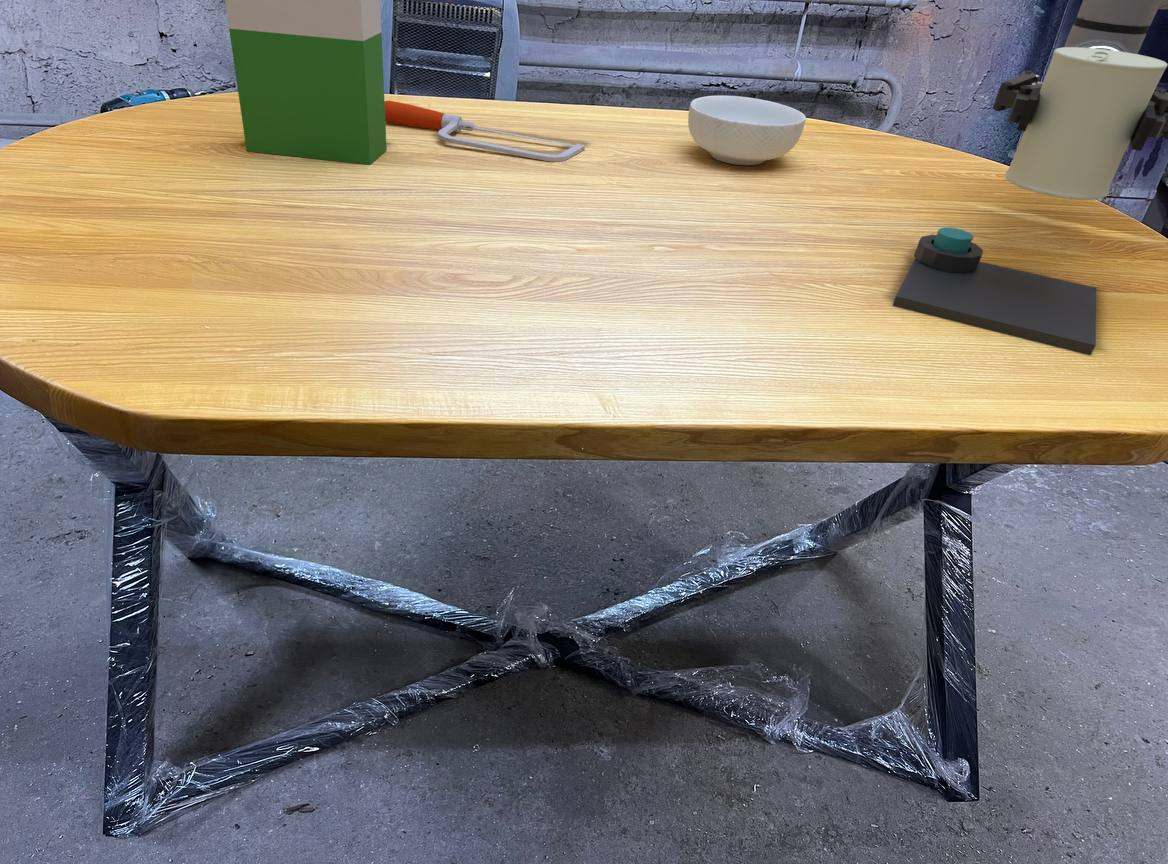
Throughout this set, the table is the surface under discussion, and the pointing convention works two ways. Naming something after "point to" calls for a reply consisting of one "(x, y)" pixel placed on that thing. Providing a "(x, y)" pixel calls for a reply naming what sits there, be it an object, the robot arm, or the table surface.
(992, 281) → the scale
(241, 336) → the table surface
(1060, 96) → the can
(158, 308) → the table surface
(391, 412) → the table surface
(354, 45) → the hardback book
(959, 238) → the tare button
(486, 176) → the table surface
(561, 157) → the hand saw
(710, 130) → the cereal bowl
